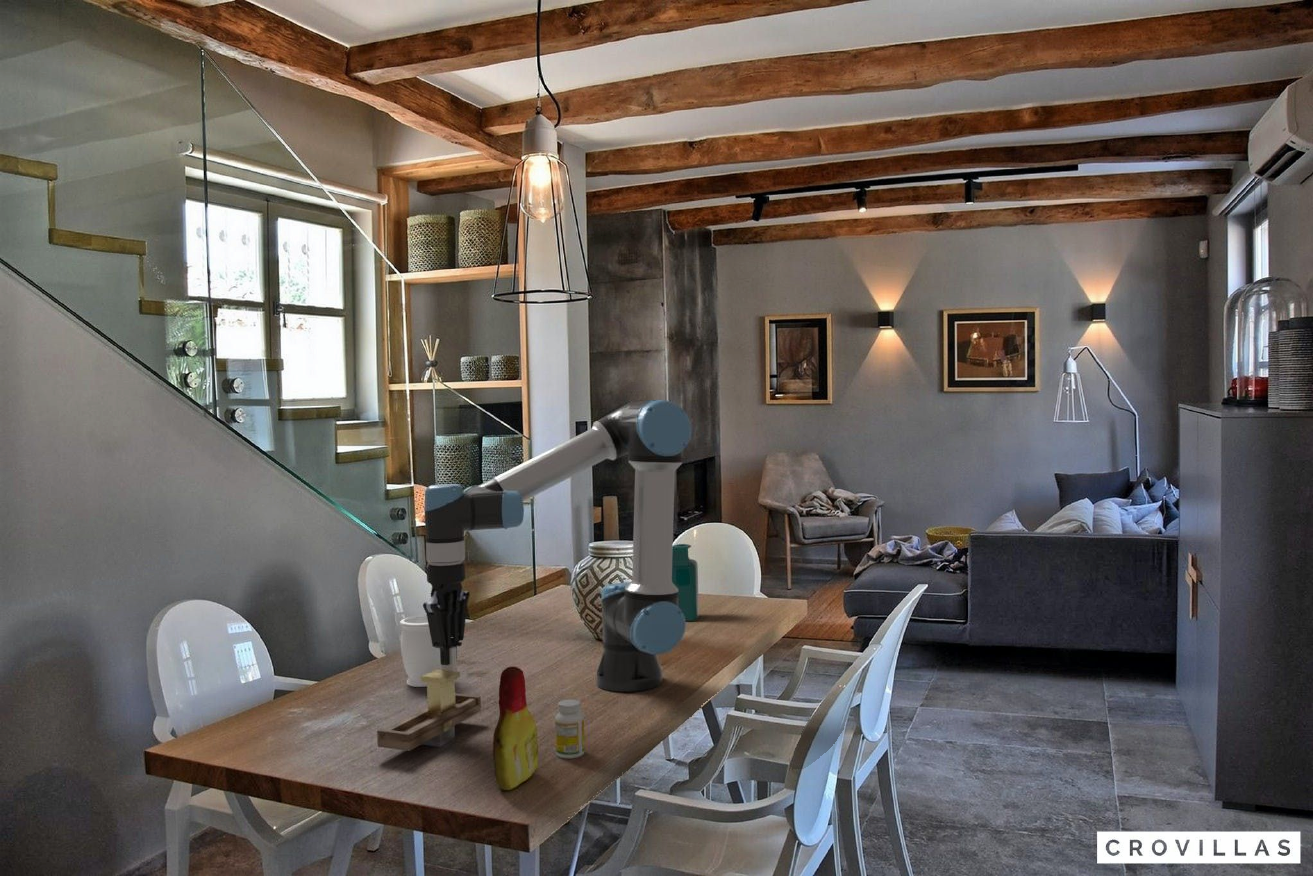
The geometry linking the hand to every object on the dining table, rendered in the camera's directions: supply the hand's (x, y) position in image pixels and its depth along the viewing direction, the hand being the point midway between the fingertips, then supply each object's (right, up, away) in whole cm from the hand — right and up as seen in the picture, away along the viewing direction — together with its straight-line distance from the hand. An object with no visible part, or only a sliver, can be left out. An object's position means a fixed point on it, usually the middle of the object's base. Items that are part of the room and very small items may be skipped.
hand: (449, 679), depth 199 cm
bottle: (+17, -11, -28) cm, 34 cm away
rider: (-1, -6, -3) cm, 7 cm away
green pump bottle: (+49, -5, +93) cm, 105 cm away
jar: (-13, -9, +34) cm, 38 cm away
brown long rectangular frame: (-2, -10, -6) cm, 12 cm away
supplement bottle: (+25, -10, -15) cm, 31 cm away
